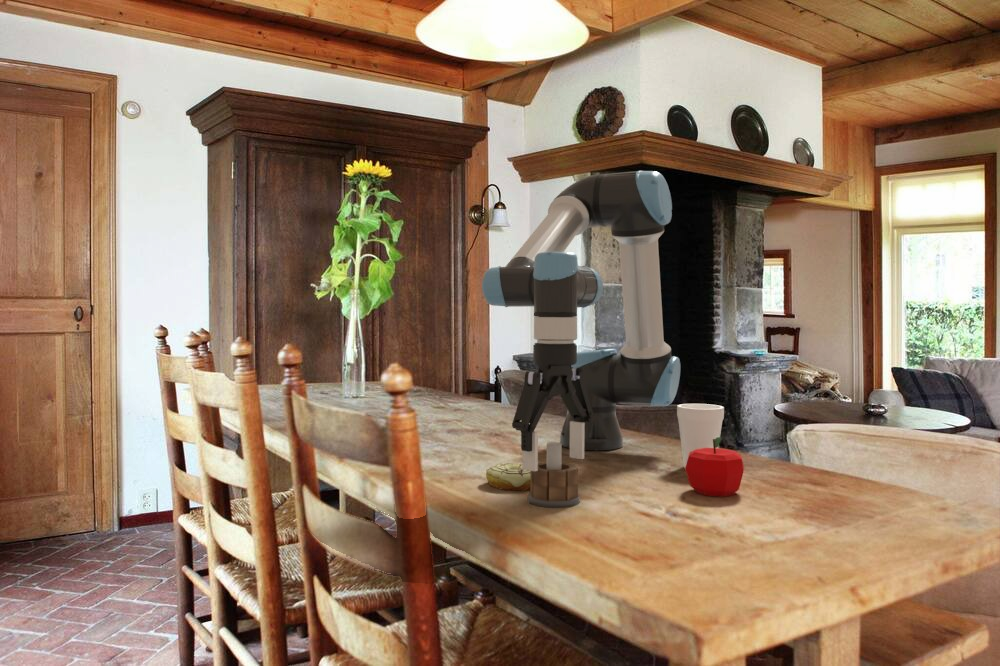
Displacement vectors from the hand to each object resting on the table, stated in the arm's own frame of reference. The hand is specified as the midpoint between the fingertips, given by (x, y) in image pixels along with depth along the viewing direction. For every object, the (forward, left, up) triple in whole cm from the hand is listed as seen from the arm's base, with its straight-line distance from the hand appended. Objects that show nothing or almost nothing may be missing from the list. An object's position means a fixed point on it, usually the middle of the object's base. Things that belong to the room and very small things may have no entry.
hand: (554, 464), depth 139 cm
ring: (0, 0, -5) cm, 5 cm away
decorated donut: (-5, -13, -7) cm, 15 cm away
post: (0, 0, -6) cm, 6 cm away
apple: (-25, +18, -7) cm, 31 cm away
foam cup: (-43, +6, -7) cm, 44 cm away
